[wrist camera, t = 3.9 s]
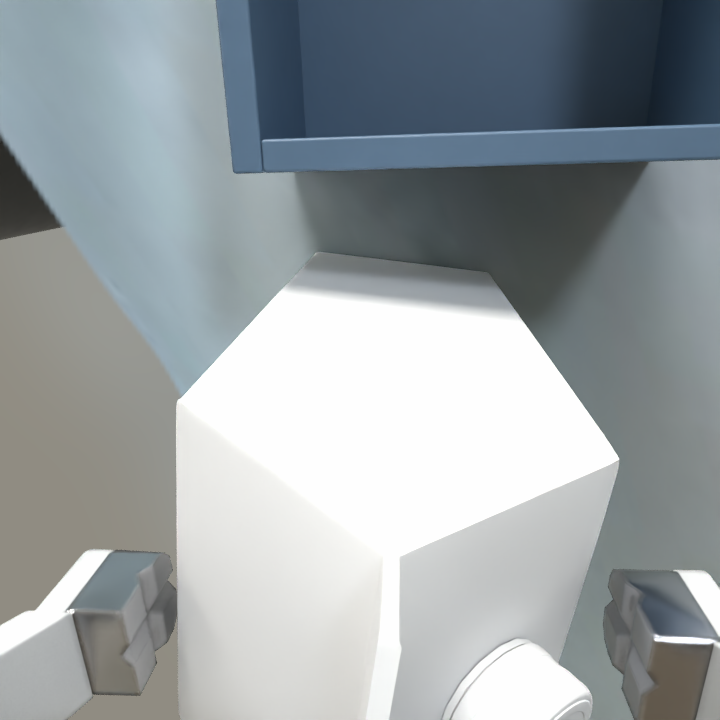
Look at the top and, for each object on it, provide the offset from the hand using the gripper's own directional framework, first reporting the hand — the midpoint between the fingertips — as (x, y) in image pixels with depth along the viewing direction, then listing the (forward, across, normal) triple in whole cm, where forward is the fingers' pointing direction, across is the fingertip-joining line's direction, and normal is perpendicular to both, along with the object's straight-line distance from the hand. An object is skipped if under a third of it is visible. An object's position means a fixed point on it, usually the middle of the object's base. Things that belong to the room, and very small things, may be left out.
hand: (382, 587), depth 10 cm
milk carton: (+15, 0, 0) cm, 15 cm away
